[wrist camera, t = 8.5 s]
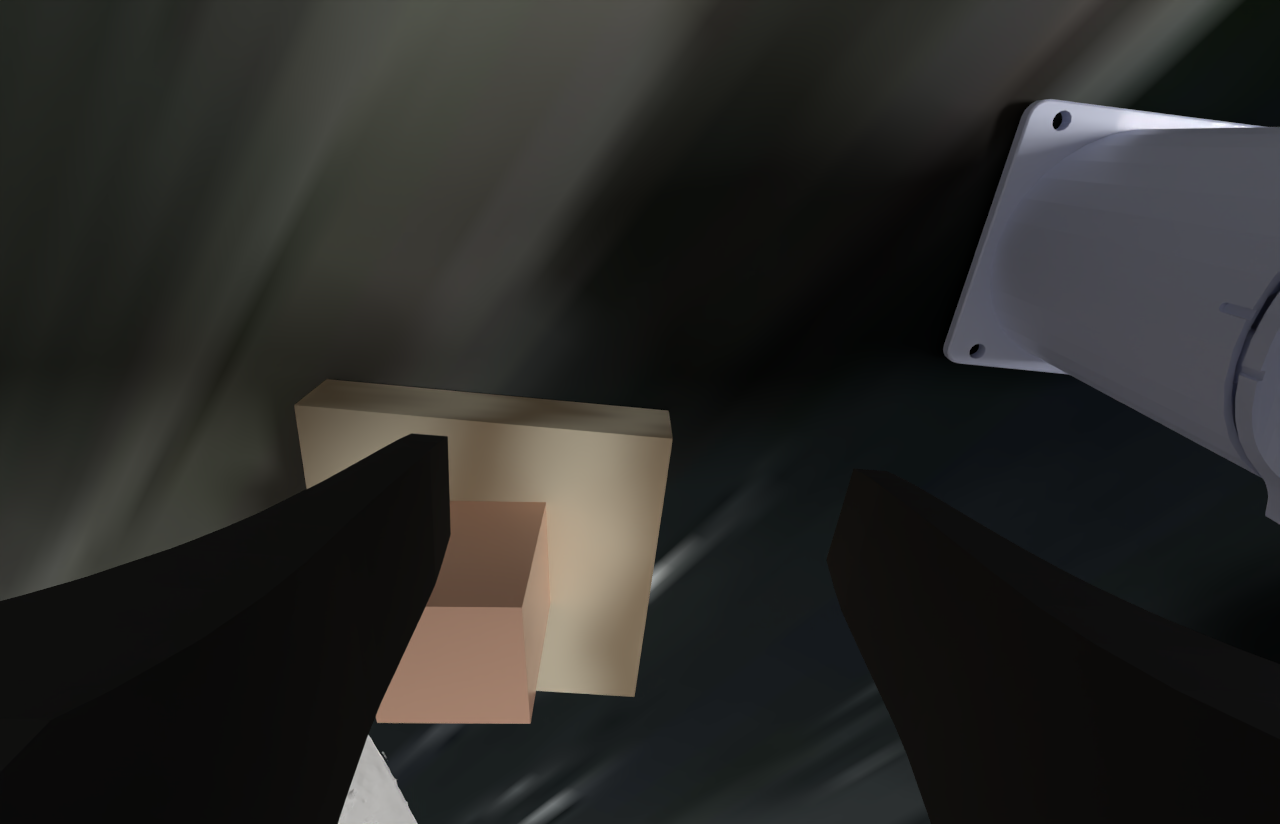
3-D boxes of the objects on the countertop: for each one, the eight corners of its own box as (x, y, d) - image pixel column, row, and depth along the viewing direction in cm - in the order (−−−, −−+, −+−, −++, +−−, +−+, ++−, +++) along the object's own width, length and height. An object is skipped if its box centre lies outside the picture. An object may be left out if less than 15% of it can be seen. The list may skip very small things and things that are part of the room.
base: (668, 410, 21) (672, 438, 19) (633, 654, 26) (634, 696, 24) (326, 379, 21) (293, 404, 19) (358, 635, 26) (335, 677, 24)
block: (545, 502, 20) (522, 607, 16) (550, 603, 22) (530, 723, 18) (413, 500, 20) (350, 605, 16) (429, 602, 22) (377, 722, 17)
